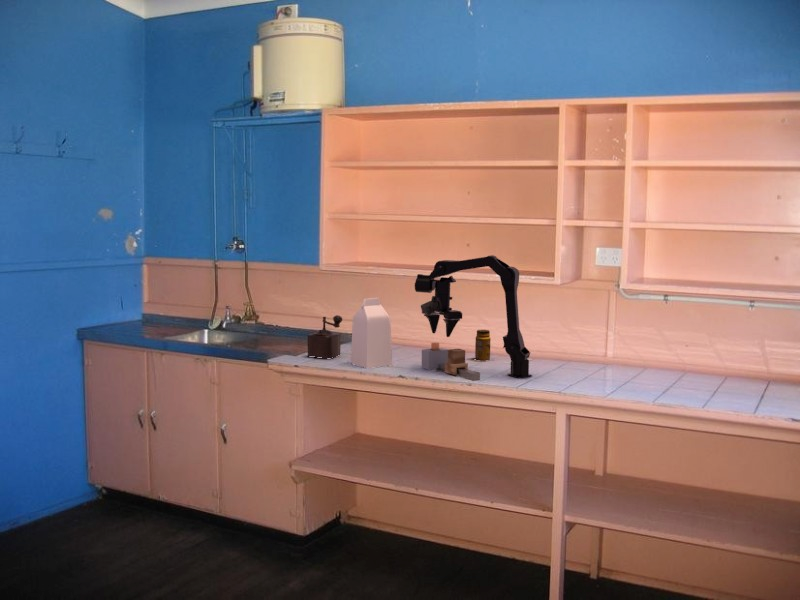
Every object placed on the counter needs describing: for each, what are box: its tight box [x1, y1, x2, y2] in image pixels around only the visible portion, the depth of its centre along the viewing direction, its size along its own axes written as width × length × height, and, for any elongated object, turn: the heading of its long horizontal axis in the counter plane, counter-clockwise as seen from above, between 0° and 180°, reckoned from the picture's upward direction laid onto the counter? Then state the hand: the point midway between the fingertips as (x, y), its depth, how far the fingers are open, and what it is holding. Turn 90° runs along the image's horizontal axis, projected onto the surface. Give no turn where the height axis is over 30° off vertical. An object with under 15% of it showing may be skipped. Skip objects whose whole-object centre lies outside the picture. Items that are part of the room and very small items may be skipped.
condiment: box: [467, 329, 495, 362], centre depth 325 cm, size 7×8×12 cm
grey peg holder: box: [421, 347, 449, 371], centre depth 307 cm, size 5×9×7 cm, turn 121°
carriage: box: [444, 348, 469, 376], centre depth 295 cm, size 6×6×8 cm
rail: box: [435, 363, 481, 381], centre depth 294 cm, size 22×6×2 cm, turn 31°
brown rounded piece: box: [430, 342, 440, 351], centre depth 306 cm, size 3×3×3 cm
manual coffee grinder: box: [307, 314, 343, 359], centre depth 328 cm, size 16×11×18 cm
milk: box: [350, 297, 394, 369], centre depth 311 cm, size 12×12×26 cm
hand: (440, 335), depth 302 cm, fingers open, 9 cm apart
